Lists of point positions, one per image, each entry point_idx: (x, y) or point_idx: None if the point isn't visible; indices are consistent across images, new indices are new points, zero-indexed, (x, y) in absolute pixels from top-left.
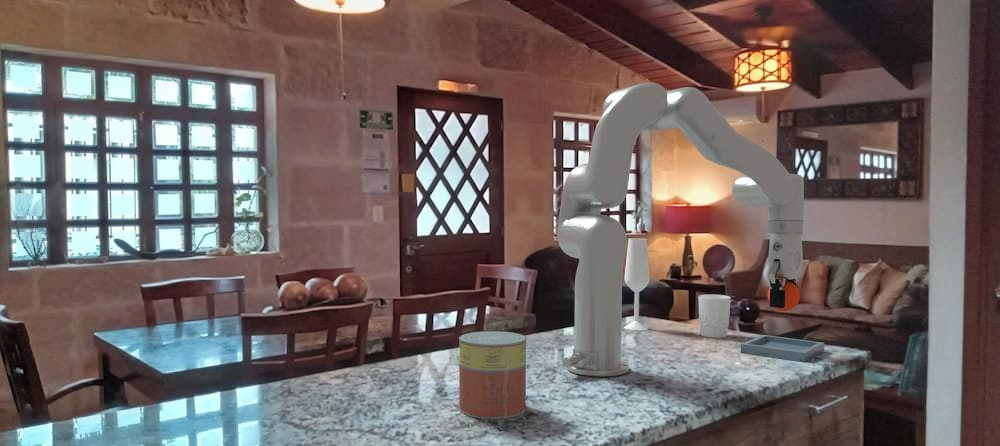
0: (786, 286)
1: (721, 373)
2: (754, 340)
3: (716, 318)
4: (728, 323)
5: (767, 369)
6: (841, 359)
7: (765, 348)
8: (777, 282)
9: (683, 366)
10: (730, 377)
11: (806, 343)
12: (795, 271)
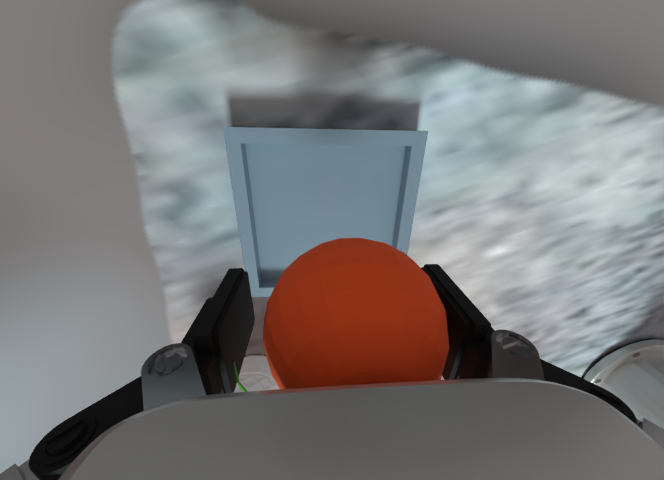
0: (440, 348)
1: (604, 239)
2: None
3: None
4: (240, 381)
5: (537, 180)
6: (308, 41)
7: (407, 238)
8: (612, 394)
9: (565, 305)
10: (635, 214)
11: (246, 180)
12: (476, 476)
